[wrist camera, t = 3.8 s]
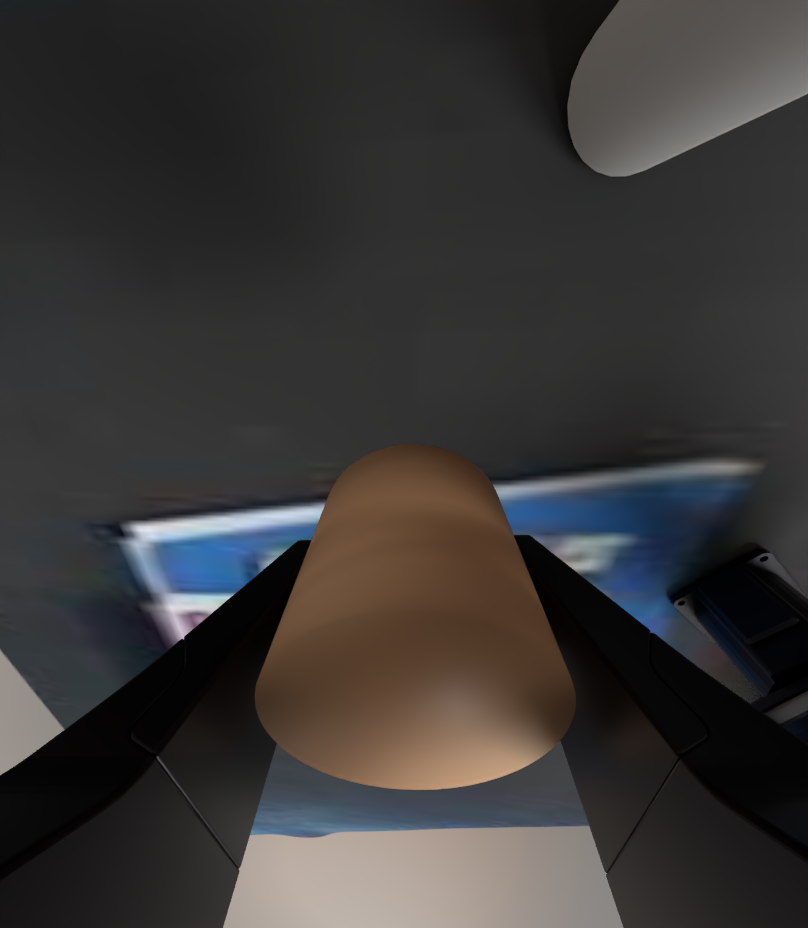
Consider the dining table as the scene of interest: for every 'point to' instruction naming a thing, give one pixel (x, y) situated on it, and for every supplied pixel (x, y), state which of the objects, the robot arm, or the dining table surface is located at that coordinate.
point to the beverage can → (682, 76)
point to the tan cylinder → (414, 634)
